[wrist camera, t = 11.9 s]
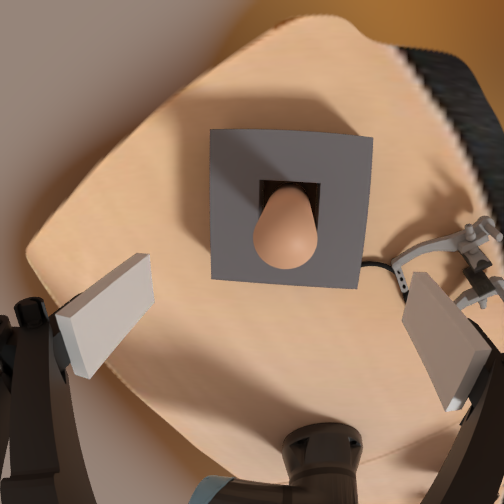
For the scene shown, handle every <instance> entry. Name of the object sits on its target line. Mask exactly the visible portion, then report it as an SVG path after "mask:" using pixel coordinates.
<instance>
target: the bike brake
mask: <svg viewBox="0 0 504 504" xmlns="http://www.w3.org/2000/svg"><path fill="white" fill-rule="evenodd" d="M488 235H491V236H492V237H493V238H495V239H496V240H497V241H498V242H500V241H501V240H502V239H503V235H502V234H501V233H500V232H499V231H498V230H497V229H496V228H495V224H494V221H493V220H492V219H491V218H490V217H488V216H481V217H480V218H479V219H478V220H477V221H476V222H475V223H474V224H473V225H472V224H466V225H465V229H464V230H462V231H459V232H456V233H454V234H451V235H448V236H444V237H440V238H436V239H432V240H428V241H424V242H422V243H419V244H417V245H415V246H413V247H411V248H410V249H408V250H406V251H405V252H403V253H401V254H400V255H398V256H397V257H396V258H393V259H392V261H391V265H392V267H391V266H389V265H387V264H384V263H381V262H373V261H367V262H361V267H364V266H378V267H382V268H385V269H387V270H389V271H391V272H393V273H394V274H395V275H396V277H397V280H398V283H399V286H400V288H401V291H402V292H403V298H404V301H405V303H406V302H407V298H408V293H409V290H408V287H407V284H406V281H405V278H404V275H403V272H402V269H401V266H402V265H404V264H405V263H407V262H409V261H410V260H412V259H413V258H415V257H417V256H419V255H421V254H424V253H428V252H432V251H452V252H455V251H457V250H458V251H459V252H460V254H461V255H462V256H463V258H464V259H465V260H466V262H467V263H468V264H469V266H470V267H468V268H466V269H464V270H463V273H464V275H465V276H466V278H467V279H468V281H469V282H470V284H471V285H472V287H473V288H471V289H468V290H466V291H464V292H463V293H462V294H461V295H460V296H459V297H458V298H457V299H456V300H455V301H454V303H455V305H456V306H457V307H458V308H459V309H460V310H462V309H464V308H465V307H467V306H469V305H472V304H474V303H476V302H478V303H479V304H480V308H481V309H485V308H486V302H487V297H490V296H493V295H499V296H500V298H501V299H502V300H503V302H504V280H503V278H502V277H496V276H493V277H490V279H488V277H487V276H486V275H485V273H484V272H483V271H482V270H484V269H486V268H488V267H490V266H492V263H491V261H490V260H489V259H488V258H487V257H486V256H485V254H484V253H483V252H482V251H481V250H480V249H479V248H478V246H480V245H482V244H483V243H485V242H487V241H489V238H488Z"/></svg>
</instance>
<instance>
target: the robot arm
mask: <svg viewBox="0 0 504 504" xmlns="http://www.w3.org/2000/svg"><path fill="white" fill-rule="evenodd" d="M154 303H155V301H154V293H153V284H152V275H151V265H150V254H143V253H136V254H134V255H133V256H132V257H130V258H129V259H127V260H126V261H125V262H123V263H122V264H121V265H119V266H118V267H116V268H115V269H114V270H112V271H111V272H110V273H108V274H107V275H105V276H104V277H103V278H101V279H100V280H99V281H97V282H96V283H95V284H93V285H92V286H91V287H89V288H88V289H87V290H85V291H84V292H82V293H80V294H78V295H76V296H75V297H73V298H72V299H71V300H70V302H69V301H68V302H67V303H66V304H64V306H62V307H61V308H59V309H58V310H57V311H56V312H54V313H53V314H52V315H50V316H49V317H48V315H47V311H46V308H45V304H44V301H43V299H42V298H40V297H29V298H26V299H23V300H21V301H19V302H18V303H17V304H16V305H15V306H14V310H15V313H16V317H17V319H18V323H19V326H20V327H11V324H10V321H9V318H8V317H7V316H5V315H0V480H1V474H2V468H3V463H4V458H5V454H6V449H7V445H8V441H9V437H10V466H11V476H10V478H3V479H2V480H1V484H0V491H1V501H2V504H97V503H96V500H95V497H94V494H93V491H92V488H91V484H90V481H89V478H88V474H87V471H86V467H85V463H84V459H83V455H82V451H81V447H80V442H79V438H78V433H77V428H76V423H75V418H74V412H73V406H72V400H71V393H70V386H69V378H68V374H67V371H66V367H67V366H68V365H69V363H71V365H72V368H73V371H74V373H75V375H79V376H81V377H84V378H87V379H90V378H91V377H92V376H93V375H94V373H95V372H96V371H97V370H98V368H99V367H100V366H101V365H102V364H103V362H104V361H105V360H106V359H107V358H108V356H109V355H110V354H111V353H112V352H113V350H114V349H115V348H116V347H117V346H118V344H119V343H120V342H121V341H122V340H123V339H124V337H125V336H126V335H127V334H128V333H129V331H130V330H131V329H132V328H133V327H134V326H135V324H136V323H137V322H138V321H139V320H140V319H141V317H142V316H143V315H144V314H145V313H146V312H147V311H148V309H149V308H150V307H151V306H152V305H153V304H154ZM402 322H403V324H404V326H405V328H406V330H407V332H408V334H409V336H410V338H411V340H412V342H413V344H414V346H415V348H416V350H417V352H418V354H419V356H420V358H421V360H422V362H423V364H424V366H425V368H426V370H427V372H428V374H429V376H430V379H431V381H432V383H433V385H434V387H435V390H436V392H437V394H438V396H439V399H440V401H441V403H442V405H443V408H444V410H445V412H447V411H454V410H460V409H462V407H463V406H464V404H465V402H466V400H467V399H468V397H469V399H470V401H471V403H472V405H471V406H470V408H469V410H468V412H467V413H466V415H465V416H464V418H463V420H462V421H461V423H460V424H459V425H461V428H460V431H459V433H458V435H457V437H456V440H455V442H454V444H453V446H452V448H451V450H450V452H449V454H448V456H447V458H446V460H445V462H444V464H443V466H442V468H441V470H440V471H439V473H438V475H437V477H436V479H435V480H434V482H433V484H432V485H431V487H430V489H429V491H428V492H427V494H426V495H425V497H424V499H423V500H422V502H421V503H420V504H494V502H495V499H496V496H497V494H498V491H499V488H500V485H501V482H502V479H503V476H504V353H500V351H499V350H498V349H497V348H496V346H495V345H494V344H493V343H492V341H491V340H490V339H489V338H487V337H488V336H487V335H486V334H485V333H484V332H483V330H482V329H481V328H480V327H479V325H478V324H476V323H475V322H474V321H472V320H471V319H469V318H467V317H466V316H465V315H464V314H463V313H462V312H461V310H460V309H459V308H458V307H457V306H456V305H455V303H454V302H453V301H452V300H451V299H450V298H449V297H448V295H447V294H446V293H445V292H444V291H443V290H442V289H441V288H440V287H439V285H438V284H437V283H436V282H435V281H434V280H433V279H432V278H431V277H430V276H429V275H428V273H427V272H413V275H412V280H411V285H410V289H409V293H408V298H407V302H406V306H405V310H404V314H403V317H402ZM362 450H363V445H362V437H361V435H360V433H359V432H358V431H357V430H356V429H354V428H352V427H350V426H347V425H343V424H337V423H321V424H314V425H309V426H306V427H303V428H300V429H298V430H296V431H294V432H292V433H291V434H290V435H288V436H287V437H286V439H285V440H284V442H283V448H282V457H283V460H284V464H285V467H286V470H287V473H288V476H289V485H280V484H270V483H262V482H254V481H248V480H242V479H237V478H235V477H231V478H229V477H222V476H216V475H211V476H207V477H205V478H204V479H203V480H202V481H201V482H200V483H199V485H198V486H197V488H196V489H195V491H194V493H193V495H192V497H191V499H190V501H189V503H188V504H358V494H357V483H356V471H357V468H358V465H359V461H360V458H361V454H362Z"/></svg>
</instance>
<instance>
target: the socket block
mask: <svg viewBox="0 0 504 504" xmlns="http://www.w3.org/2000/svg"><path fill="white" fill-rule="evenodd" d="M372 153H373V138H372V137H364V136H356V135H346V134H336V133H324V132H311V131H294V130H268V129H210V245H211V279H216V280H228V281H240V282H253V283H266V284H280V285H294V286H309V287H326V288H343V289H357V286H358V280H359V274H360V268H361V261H362V254H363V247H364V240H365V232H366V223H367V215H368V205H369V194H370V183H371V169H372ZM264 180H277V181H296V182H311V183H317V191H316V206H315V220H314V222H315V227H316V231H317V246H316V249H315V252H314V253H313V255H312V257H311V258H310V259H309V260H308V261H307V262H306V263H304V264H303V265H301V266H299V267H296V268H292V269H279V268H275V267H273V266H270V265H269V264H267V263H266V262H264V261H263V260H262V259H261V258H260V257H259V255H258V254H257V252H256V250H255V247H254V243H253V233H254V229H255V226H256V224H257V222H258V220H259V218H260V216H261V214H262V212H263V203H264Z"/></svg>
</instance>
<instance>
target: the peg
mask: <svg viewBox="0 0 504 504" xmlns="http://www.w3.org/2000/svg"><path fill="white" fill-rule="evenodd" d="M253 243H254V247H255V250H256V252H257V254H258V255H259V257H260V258H261V259H262V260H263V261H264V262H266V263H267V264H269V265H270V266H273V267H275V268H279V269H292V268H296V267H299V266H301V265H303V264H304V263H306V262H307V261H308V260H309V259H310V258H311V257H312V255H313V253H314V252H315V249H316V246H317V231H316V227H315V222H314V218H313V214H312V210H311V206H310V202H309V198H308V195H307V193H306V191H305V190H304V188H303V187H301V186H300V185H298V184H296V183H292V182H287V183H283V184H281V185H279V186H277V187H276V188H275V189H274V191H273V193H272V195H271V196H270V198H269V200H268V202H267V204H266V206H265V208H264V210H263V212H262V214H261V216H260V218H259V220H258V222H257V224H256V226H255V229H254V233H253Z"/></svg>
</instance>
